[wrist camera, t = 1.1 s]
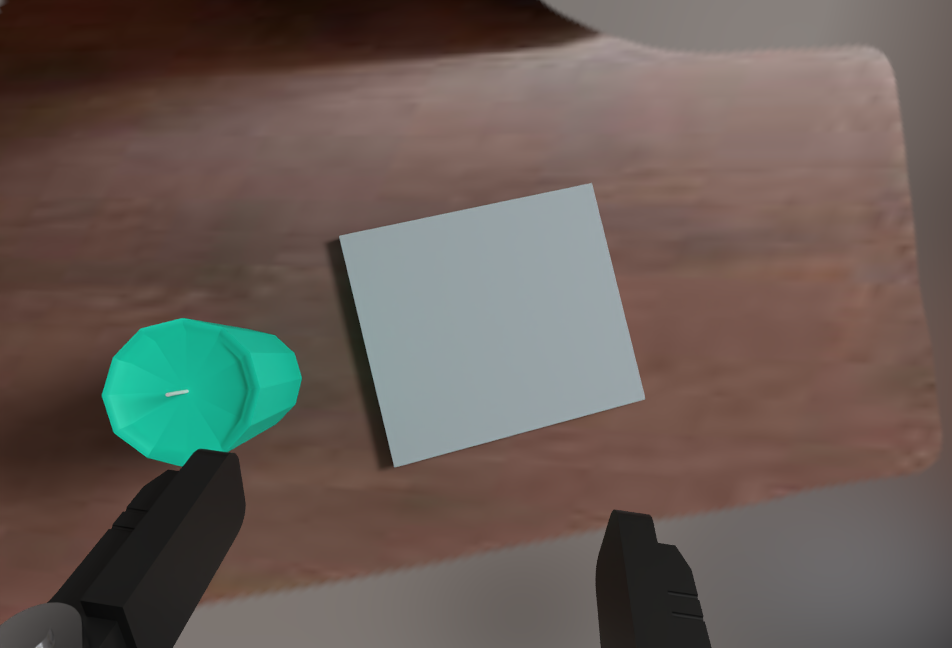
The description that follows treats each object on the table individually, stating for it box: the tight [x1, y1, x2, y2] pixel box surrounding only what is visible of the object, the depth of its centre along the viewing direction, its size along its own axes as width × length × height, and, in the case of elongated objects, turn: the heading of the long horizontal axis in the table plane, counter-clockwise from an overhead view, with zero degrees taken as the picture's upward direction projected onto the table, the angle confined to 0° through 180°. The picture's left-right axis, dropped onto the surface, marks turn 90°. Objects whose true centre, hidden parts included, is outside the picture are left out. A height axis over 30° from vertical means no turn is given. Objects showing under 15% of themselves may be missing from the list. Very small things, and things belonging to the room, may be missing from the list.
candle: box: [102, 318, 302, 467], centre depth 28 cm, size 6×6×12 cm
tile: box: [339, 183, 645, 468], centre depth 35 cm, size 16×14×1 cm
